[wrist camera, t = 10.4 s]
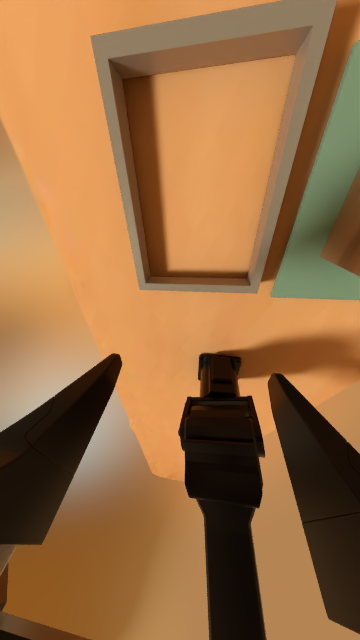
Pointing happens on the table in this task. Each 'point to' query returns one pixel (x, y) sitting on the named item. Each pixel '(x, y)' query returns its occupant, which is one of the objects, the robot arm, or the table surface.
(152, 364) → the table surface
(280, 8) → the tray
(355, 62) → the mat
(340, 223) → the walnut block
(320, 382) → the table surface
